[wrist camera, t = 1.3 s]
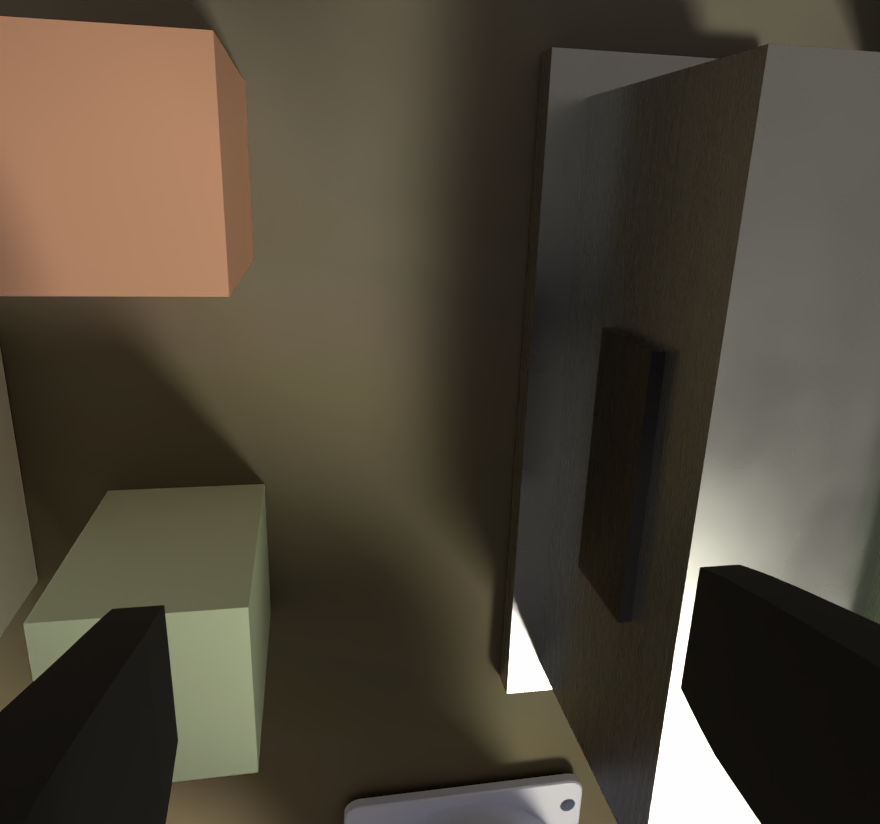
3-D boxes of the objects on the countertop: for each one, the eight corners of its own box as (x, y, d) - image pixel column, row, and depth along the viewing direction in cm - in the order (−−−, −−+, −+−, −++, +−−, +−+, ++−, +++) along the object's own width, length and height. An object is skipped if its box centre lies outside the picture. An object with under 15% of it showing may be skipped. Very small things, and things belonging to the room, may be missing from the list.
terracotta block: (253, 259, 18) (229, 296, 12) (79, 257, 17) (-35, 295, 11) (245, 82, 16) (213, 30, 11) (56, 71, 16) (-84, 10, 10)
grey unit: (673, 660, 24) (859, 902, 16) (499, 677, 23) (605, 945, 15) (765, 67, 18) (1120, -19, 10) (541, 52, 17) (745, -57, 9)
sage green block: (271, 610, 21) (258, 772, 15) (124, 621, 20) (52, 795, 14) (264, 483, 19) (248, 607, 14) (108, 490, 19) (23, 623, 13)
